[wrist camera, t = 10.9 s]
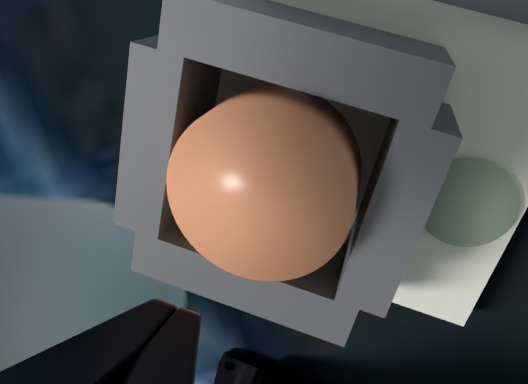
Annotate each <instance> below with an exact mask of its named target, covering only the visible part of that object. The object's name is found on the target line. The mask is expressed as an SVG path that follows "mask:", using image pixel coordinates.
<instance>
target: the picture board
mask: <svg viewBox="0 0 528 384" xmlns="http://www.w3.org/2000/svg"><path fill="white" fill-rule="evenodd" d="M267 83H274V84H277V85H281V86H284V87H288V88H291V89H295V90H298V91H301V92H305V93H308V94H312V95H315V96H319V97H322V98H323V99H325V100H326V101H328V102H329V103H330V104H331V105H332V106H333V107H335V108H336V109H337V110H338V111H339V112H340V114H341V115H342V116H343V117H344V118H345V120H346V121H347V123H348V124H349V126H350V127H351V129H352V131H353V133H354V135H355V137H356V139H357V143H358V146H359V149H360V154H361V160H362V175H361V183H360V187H359V192H358V197H357V202H356V206H355V211H354V216H353V220H352V224H351V227H350V230H349V233H348V235H347V237H346V240H345V241H344V243H343V244H342V246H341V248H340V249H339V250H338V252H337V253H336V254H335V255H334V256H333V257H332V258H331V259H330V260H329V261H328V262H327V263H326V264H324V265H323V266H321V267H320V268H318V269H317V270H315V271H313V272H311V273H309V274H307V275H305V276H302V277H299V278H295V279H291V280H286V281H275V282H268V281H257V280H251V279H247V278H243V277H240V276H237V275H234V274H232V273H229V272H227V271H225V270H223V269H221V268H219V267H218V266H216V265H214V264H213V263H212V262H210V261H209V260H207V259H206V258H205V257H204V256H202V255H201V254H200V253H199V252H198V251H197V250H196V249H195V248H194V247H193V246H192V245H191V244H190V243H189V241H188V240H187V239H186V237H185V236H184V235H183V233H182V232H181V230H180V228H179V227H178V225H177V223H176V221H175V219H174V216H173V214H172V211H171V208H170V205H169V201H168V195H167V186H166V177H167V168H168V163H169V159H170V156H171V153H172V151H173V148H174V146H175V145H176V143H177V141H178V139H179V138H180V136H181V135H182V134H183V132H184V131H185V130H186V129H187V128H188V127H189V126H190V125H191V124H192V123H193V122H194V121H196V120H197V119H198V118H200V117H201V116H203V115H204V114H206V113H207V112H208V111H210V110H211V109H213V108H214V107H216V106H217V105H219V104H220V103H221V102H223V101H224V100H226V99H227V98H229V97H230V96H232V95H233V94H235V93H237V92H239V91H241V90H243V89H245V88H248V87H251V86H255V85H260V84H267ZM527 207H528V0H163V2H162V11H161V19H160V27H159V35H157V36H153V37H148V38H144V39H140V40H136V41H132V42H130V51H129V62H128V72H127V83H126V94H125V105H124V115H123V126H122V137H121V147H120V158H119V169H118V179H117V190H116V201H115V213H114V222H113V224H115V225H118V226H121V227H124V228H127V229H130V230H133V231H135V239H134V247H133V256H132V264H131V271H134V272H137V273H140V274H142V275H145V276H148V277H151V278H153V279H156V280H159V281H162V282H164V283H168V284H170V285H173V286H176V287H178V288H181V289H184V290H187V291H189V292H192V293H195V294H198V295H200V296H203V297H206V298H209V299H212V300H214V301H217V302H220V303H223V304H225V305H228V306H231V307H234V308H237V309H239V310H242V311H245V312H248V313H250V314H253V315H256V316H259V317H262V318H264V319H267V320H270V321H273V322H275V323H278V324H281V325H284V326H286V327H289V328H292V329H295V330H298V331H300V332H303V333H306V334H309V335H311V336H314V337H317V338H320V339H323V340H325V341H328V342H331V343H334V344H336V345H339V346H342V347H344V346H345V344H346V341H347V339H348V336H349V334H350V331H351V329H352V326H353V324H354V321H355V319H356V316H357V314H358V311H359V310H362V311H365V312H368V313H371V314H374V315H377V316H380V317H382V318H385V316H386V314H387V312H388V310H389V307H390V305H391V303H392V302H393V303H396V304H399V305H402V306H405V307H408V308H411V309H414V310H417V311H420V312H423V313H425V314H428V315H431V316H434V317H437V318H440V319H443V320H446V321H449V322H452V323H455V324H458V325H461V326H464V325H465V323H466V321H467V319H468V317H469V315H470V313H471V311H472V310H473V308H474V306H475V304H476V302H477V300H478V298H479V297H480V295H481V293H482V291H483V289H484V287H485V285H486V283H487V282H488V280H489V278H490V276H491V274H492V272H493V270H494V269H495V267H496V265H497V263H498V261H499V259H500V257H501V255H502V254H503V252H504V250H505V248H506V246H507V244H508V242H509V241H510V239H511V237H512V235H513V233H514V231H515V229H516V227H517V226H518V224H519V222H520V220H521V218H522V216H523V214H524V213H525V211H526V209H527Z"/></svg>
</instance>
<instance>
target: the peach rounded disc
mask: <svg viewBox="0 0 528 384" xmlns="http://www.w3.org/2000/svg"><path fill="white" fill-rule="evenodd" d="M361 175H362V160H361V154H360V149H359V146H358V143H357V139H356V137H355V135H354V133H353V131H352V129H351V127H350V126H349V124H348V123H347V121H346V120H345V118H344V117H343V116H342V115H341V114H340V112H339V111H338V110H337V109H336V108H335V107H333V106H332V105H331V104H330V103H329V102H328V101H326V100H325V99H323V98H322V97H319V96H315V95H312V94H308V93H305V92H301V91H298V90H295V89H291V88H288V87H284V86H281V85H277V84H274V83H267V84H260V85H255V86H251V87H248V88H245V89H243V90H241V91H239V92H237V93H235V94H233V95H232V96H230V97H229V98H227V99H226V100H224V101H223V102H221V103H220V104H219V105H217V106H216V107H214V108H213V109H211V110H210V111H208V112H207V113H206V114H204V115H203V116H201V117H200V118H198V119H197V120H196V121H194V122H193V123H192V124H191V125H190V126H189V127H188V128H187V129H186V130H185V131H184V132H183V134H182V135H181V136H180V138H179V139H178V141H177V143H176V145H175V146H174V148H173V151H172V153H171V156H170V159H169V163H168V168H167V177H166V186H167V195H168V201H169V205H170V208H171V211H172V214H173V216H174V219H175V221H176V223H177V225H178V227H179V228H180V230H181V232H182V233H183V235H184V236H185V237H186V239H187V240H188V241H189V243H190V244H191V245H192V246H193V247H194V248H195V249H196V250H197V251H198V252H199V253H200V254H201V255H202V256H204V257H205V258H206V259H207V260H209V261H210V262H212V263H213V264H214V265H216V266H218V267H219V268H221V269H223V270H225V271H227V272H229V273H232V274H234V275H237V276H240V277H243V278H247V279H251V280H257V281H268V282H275V281H286V280H291V279H295V278H299V277H302V276H305V275H307V274H309V273H311V272H313V271H315V270H317V269H318V268H320V267H321V266H323V265H324V264H326V263H327V262H328V261H329V260H330V259H331V258H332V257H333V256H334V255H335V254H336V253H337V252H338V250H339V249H340V248H341V246H342V244H343V243H344V241H345V240H346V237H347V235H348V233H349V230H350V227H351V224H352V220H353V216H354V211H355V206H356V202H357V197H358V192H359V187H360V183H361Z"/></svg>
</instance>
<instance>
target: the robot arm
mask: <svg viewBox="0 0 528 384" xmlns="http://www.w3.org/2000/svg"><path fill="white" fill-rule="evenodd" d="M200 325H201V315H200V314H199V313H196V312H194V311H191V310H188V309H185V308H182V307H181V308H178V309H177V307H176V305H174V304H172V303H169V302H166V301H163V300H161V299H157V298H155V299H151V300H149V301H147V302H145V303H143V304H141V305H139V306H136V307H134V308H132V309H130V310H128V311H126V312H124V313H122V314H120V315H118V316H116V317H113V318H112V319H109V320H107V321H106V322H103V323H101V324H99V325H97V326H95V327H93V328H91V329H88V330H87V331H84V332H82V333H80V334H78V335H76V336H74V337H72V338H70V339H67V340H66V341H63V342H61V343H59V344H57V345H55V346H53V347H51V348H49V349H47V350H44V351H42V352H41V353H38V354H36V355H34V356H32V357H30V358H28V359H26V360H24V361H22V362H19V363H17V364H15V365H13V366H11V367H9V368H7V369H5V370H3V371H1V372H0V384H194V378H195V369H196V361H197V352H198V343H199V334H200ZM229 362H232V363H233V364H230V363H229ZM214 384H319V383H317V382H314V381H311V380H309V379H306V378H303V377H301V376H298V375H295V374H292V373H290V372H287V371H284V370H282V369H279V368H276V367H274V366H271V365H268V364H266V363H263V362H260V361H258V360H255V359H252V358H250V357H247V356H244V355H242V354H239V353H236V352H233V351H227V352H225V353H224V354H223V356H222V358H221V360H220V362H219V365H218V369H217V373H216V377H215V381H214Z"/></svg>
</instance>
